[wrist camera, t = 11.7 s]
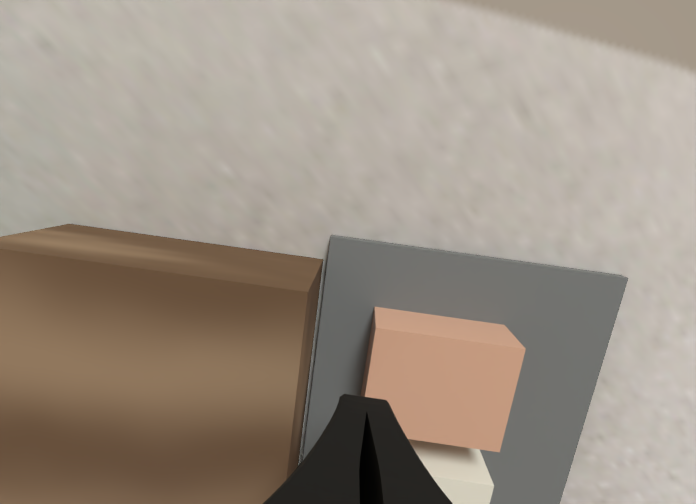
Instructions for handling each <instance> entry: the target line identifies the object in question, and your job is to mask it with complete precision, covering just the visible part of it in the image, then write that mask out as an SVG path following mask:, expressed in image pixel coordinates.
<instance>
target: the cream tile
mask: <svg viewBox="0 0 696 504" xmlns="http://www.w3.org/2000/svg"><path fill="white" fill-rule="evenodd" d="M408 440H409V442H410V444H411V445H412V447H413V449H414V450H415V452H416V454H417V455H418V457H419V458H420V460H421V461H422V463H423V464H424V466H425V467H426V469H427V470H428V472H429V473H430V475H431V476H432V477H433V479H434V480H435V482H436V483H437V484H438V486H439V487H440V488H441V490H442V491H443V492H444V494H445V495H446V496H447V497H448V498H449V500H450V501H451V502H452V503H453V504H490V500H491V497H492V493H493V489H494V484H493V481H492V479H491V477H490V474H489V472H488V469H487V467H486V464H485V462H484V459H483V457H482V454H481V452H480V449H473V448H466V447H459V446H452V445H446V444H439V443H432V442H425V441H418V440H412V439H408Z"/></svg>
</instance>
